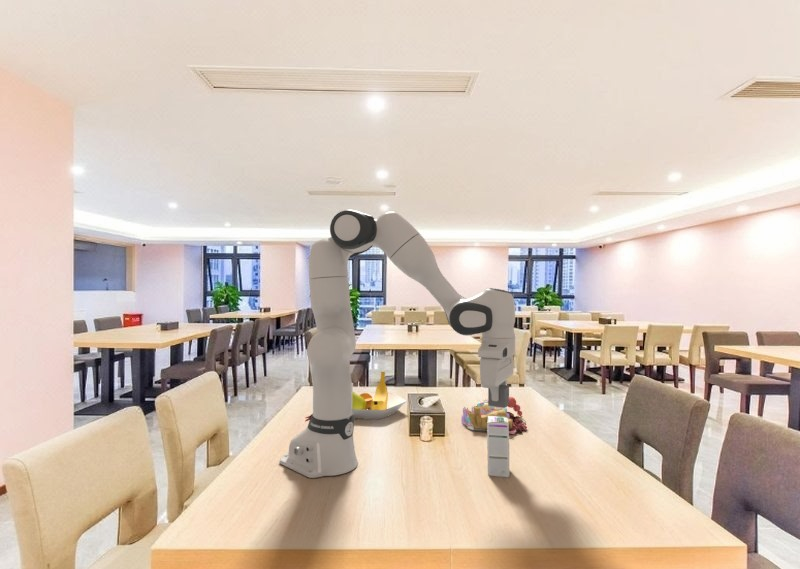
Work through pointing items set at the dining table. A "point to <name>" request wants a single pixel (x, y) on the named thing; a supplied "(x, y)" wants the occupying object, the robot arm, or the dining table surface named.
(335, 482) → the dining table surface
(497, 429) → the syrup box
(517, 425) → the food platter
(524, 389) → the dining table surface
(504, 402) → the block
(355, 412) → the fruit
